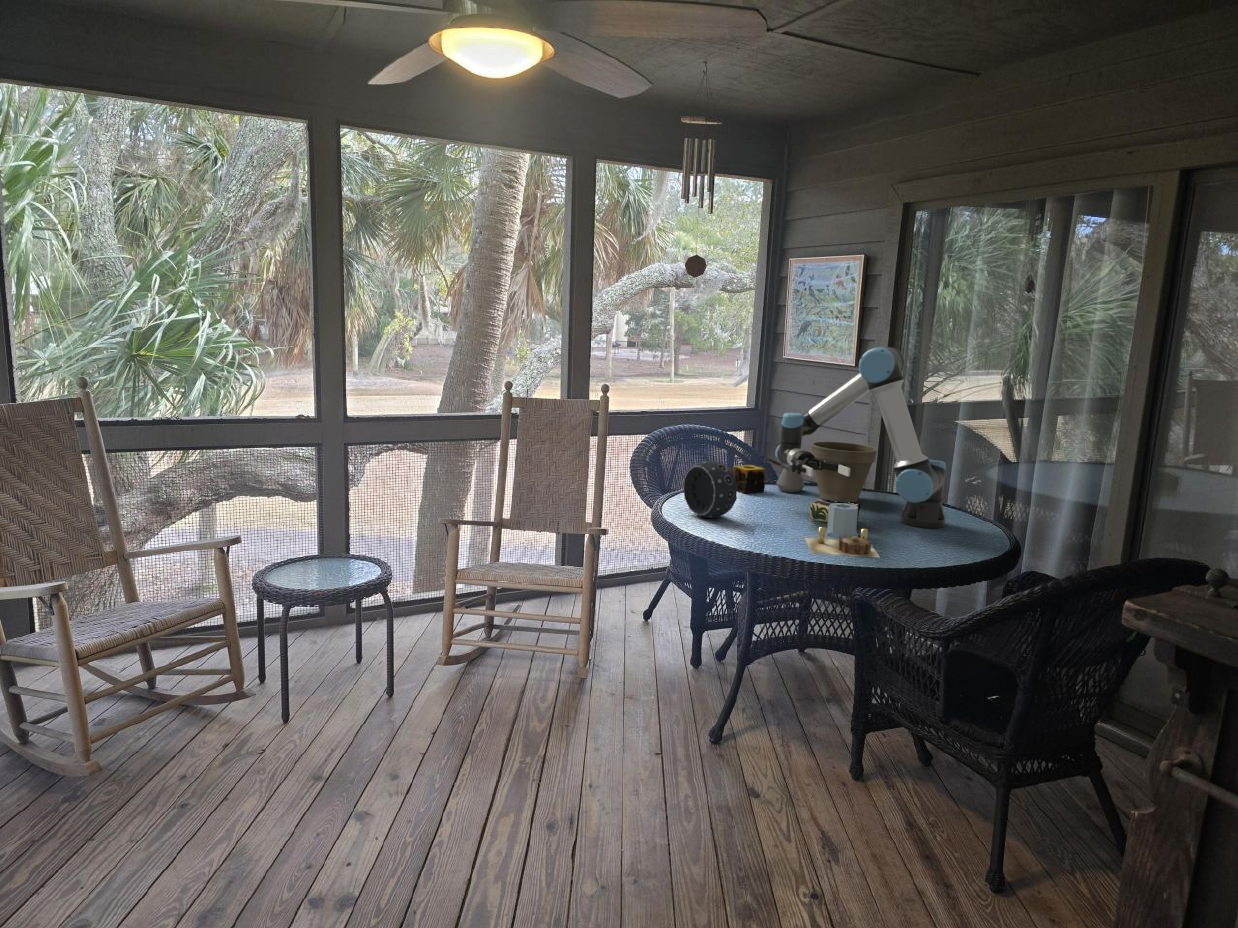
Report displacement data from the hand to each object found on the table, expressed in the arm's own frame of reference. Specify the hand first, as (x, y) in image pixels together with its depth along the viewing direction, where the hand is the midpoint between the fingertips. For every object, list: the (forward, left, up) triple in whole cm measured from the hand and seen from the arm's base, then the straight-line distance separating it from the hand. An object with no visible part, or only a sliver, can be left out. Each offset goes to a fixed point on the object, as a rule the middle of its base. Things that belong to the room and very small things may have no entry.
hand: (830, 472), depth 267 cm
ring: (+39, -10, -20) cm, 45 cm away
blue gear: (-4, +9, -20) cm, 22 cm away
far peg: (-9, +20, -19) cm, 29 cm away
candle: (+23, -58, -20) cm, 66 cm away
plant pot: (-13, -52, -20) cm, 57 cm away
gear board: (-1, +25, -20) cm, 32 cm away
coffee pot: (+9, -60, -20) cm, 64 cm away
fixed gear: (-5, +27, -19) cm, 34 cm away
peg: (+4, +21, -19) cm, 29 cm away
